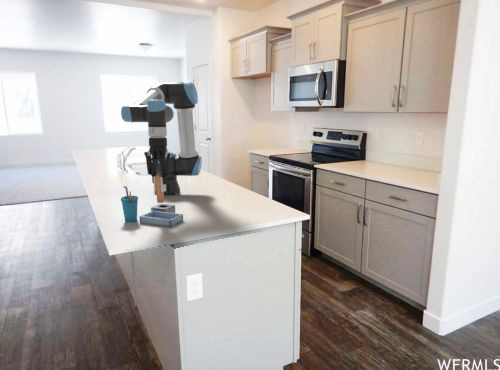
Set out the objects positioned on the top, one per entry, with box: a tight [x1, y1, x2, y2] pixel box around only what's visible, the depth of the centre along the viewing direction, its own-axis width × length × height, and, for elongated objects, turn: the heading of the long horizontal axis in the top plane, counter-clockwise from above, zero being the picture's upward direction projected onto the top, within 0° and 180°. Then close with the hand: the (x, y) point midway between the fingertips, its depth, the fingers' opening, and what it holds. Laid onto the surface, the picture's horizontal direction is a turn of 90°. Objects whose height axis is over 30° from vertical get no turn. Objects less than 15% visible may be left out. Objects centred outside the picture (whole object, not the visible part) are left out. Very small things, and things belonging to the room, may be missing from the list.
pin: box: [156, 172, 165, 204], centre depth 157 cm, size 3×3×13 cm
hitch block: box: [150, 203, 176, 213], centre depth 172 cm, size 8×8×4 cm
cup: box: [120, 185, 139, 223], centre depth 162 cm, size 14×8×15 cm, turn 34°
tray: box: [138, 210, 184, 228], centre depth 160 cm, size 16×10×3 cm, turn 68°
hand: (160, 191), depth 158 cm, fingers closed on pin, 3 cm apart
